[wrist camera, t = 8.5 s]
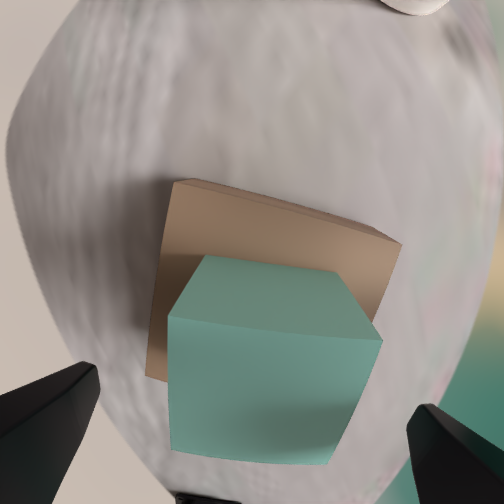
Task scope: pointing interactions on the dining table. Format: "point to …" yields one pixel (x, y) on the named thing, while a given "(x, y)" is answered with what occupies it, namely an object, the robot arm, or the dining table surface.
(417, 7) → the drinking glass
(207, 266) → the teal cube
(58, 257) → the dining table surface
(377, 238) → the walnut block
